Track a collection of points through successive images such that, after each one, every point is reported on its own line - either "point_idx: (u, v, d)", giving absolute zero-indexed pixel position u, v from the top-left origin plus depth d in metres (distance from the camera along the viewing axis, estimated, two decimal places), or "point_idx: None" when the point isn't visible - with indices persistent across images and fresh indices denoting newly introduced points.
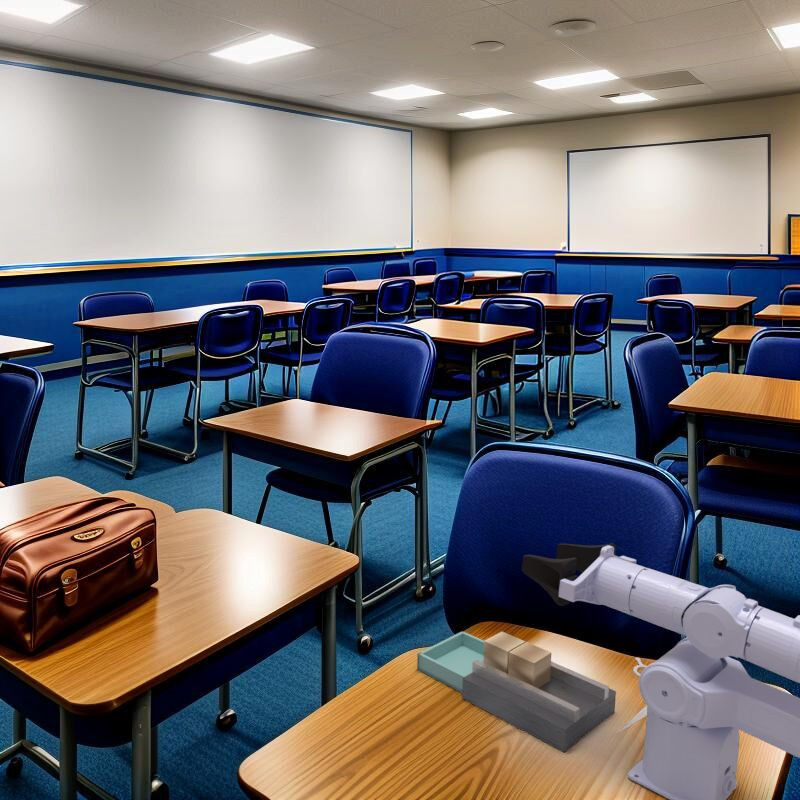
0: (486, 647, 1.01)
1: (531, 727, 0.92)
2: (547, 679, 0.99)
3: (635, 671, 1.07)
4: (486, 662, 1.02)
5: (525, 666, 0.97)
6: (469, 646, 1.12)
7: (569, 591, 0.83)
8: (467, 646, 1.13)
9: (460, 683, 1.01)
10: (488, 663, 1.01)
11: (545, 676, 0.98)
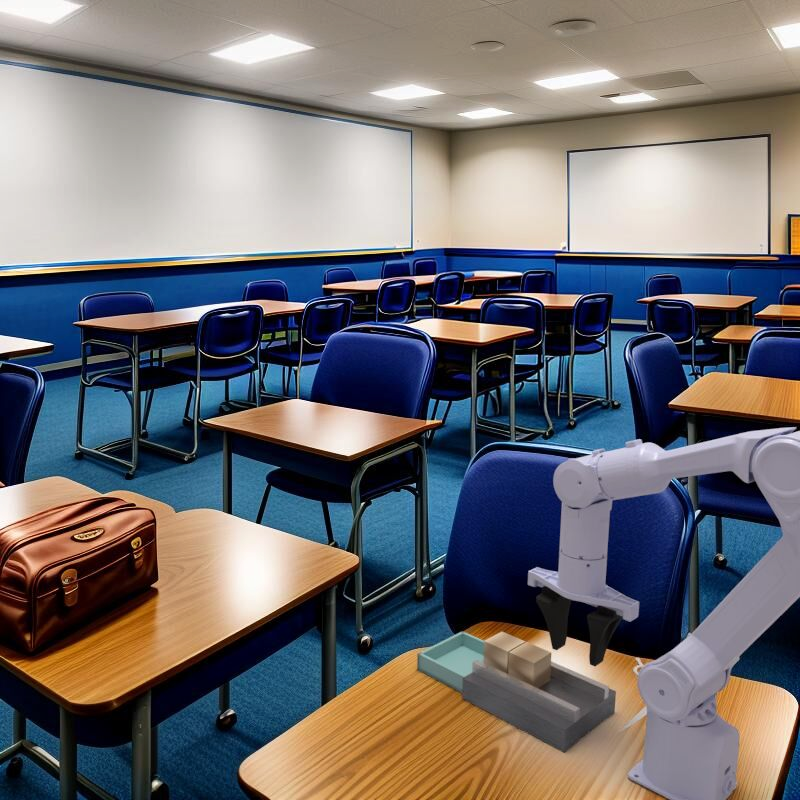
0: (486, 647, 1.01)
1: (531, 727, 0.92)
2: (547, 679, 0.99)
3: (635, 671, 1.07)
4: (486, 662, 1.02)
5: (525, 666, 0.97)
6: (469, 646, 1.12)
7: None
8: (467, 646, 1.13)
9: (460, 683, 1.01)
10: (488, 663, 1.01)
11: (545, 676, 0.98)
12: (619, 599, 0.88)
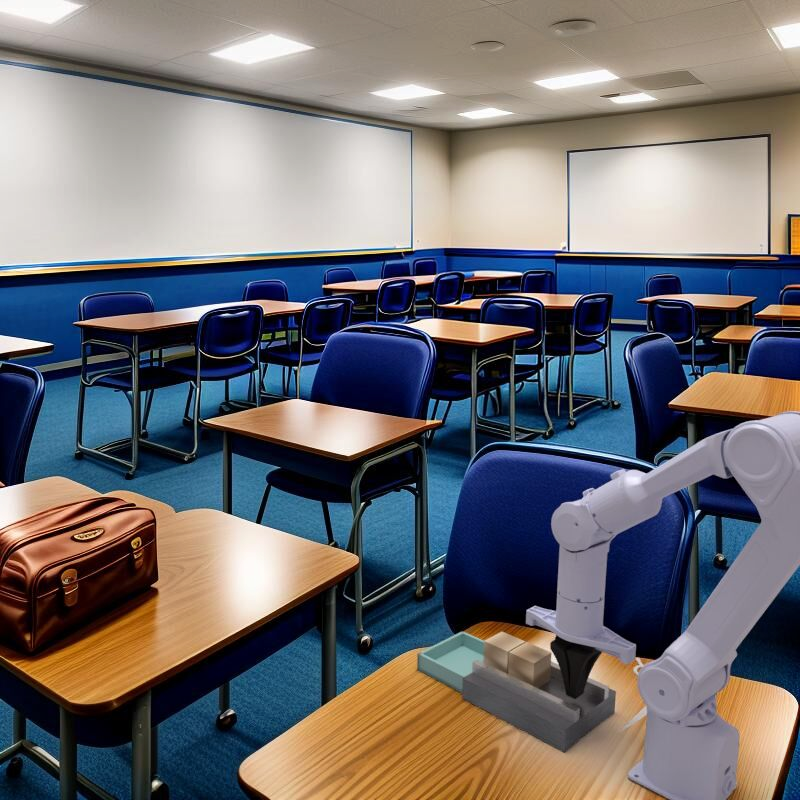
0: (486, 647, 1.01)
1: (531, 727, 0.92)
2: (547, 679, 0.99)
3: (635, 671, 1.07)
4: (486, 662, 1.02)
5: (525, 666, 0.97)
6: (469, 646, 1.12)
7: None
8: (467, 646, 1.13)
9: (460, 683, 1.01)
10: (488, 663, 1.01)
11: (545, 676, 0.98)
12: (616, 641, 0.89)
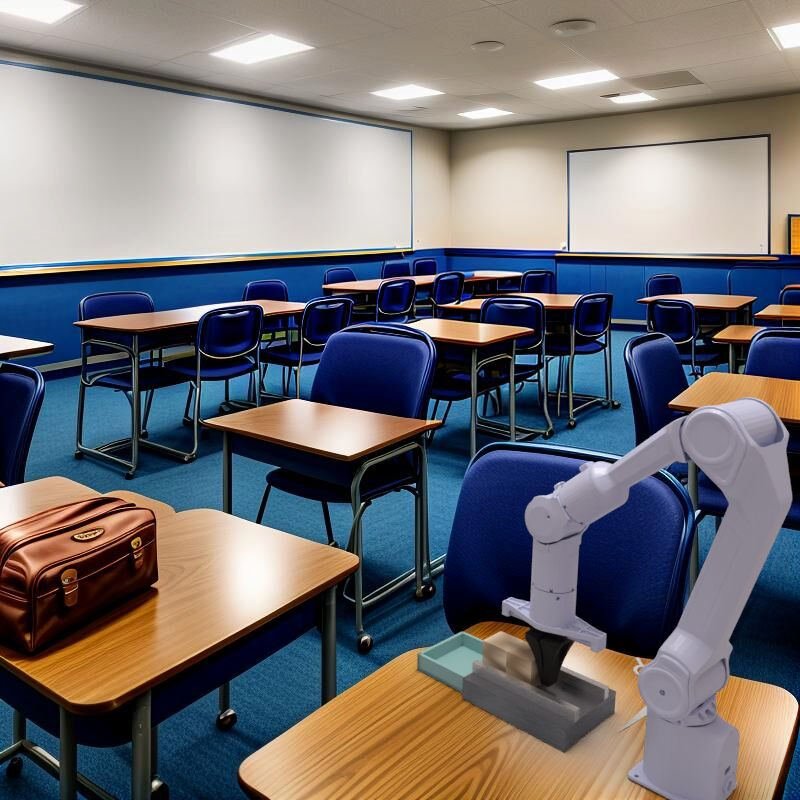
0: (485, 647, 1.01)
1: (531, 727, 0.92)
2: None
3: (635, 671, 1.07)
4: (485, 662, 1.02)
5: (523, 665, 0.97)
6: (469, 646, 1.12)
7: None
8: (467, 646, 1.13)
9: (460, 683, 1.01)
10: (487, 663, 1.01)
11: None
12: (587, 631, 0.92)
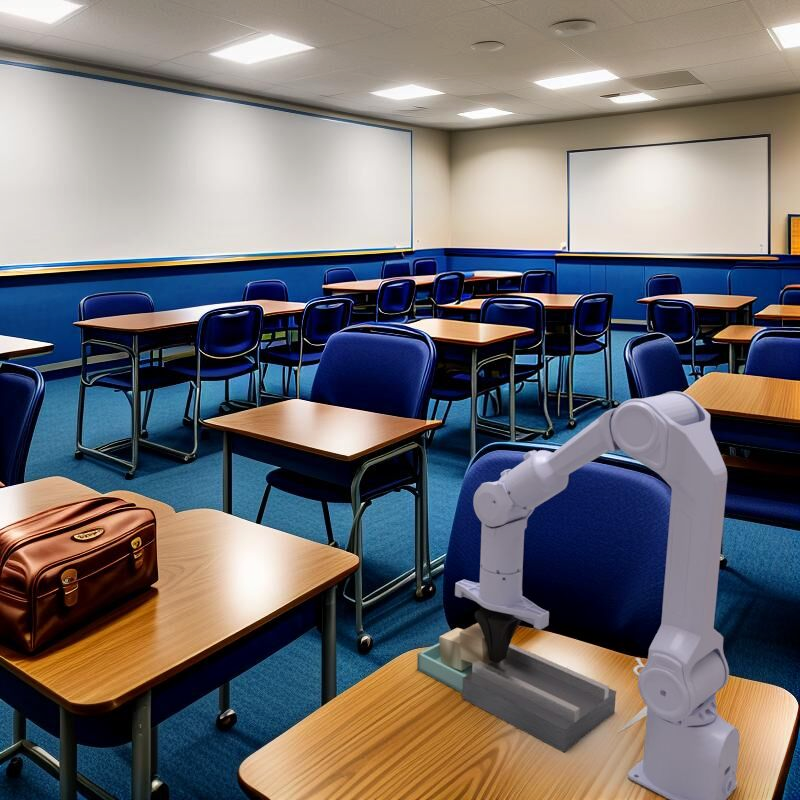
0: (444, 661, 1.08)
1: (531, 727, 0.92)
2: None
3: (635, 671, 1.07)
4: (455, 665, 1.06)
5: (474, 643, 1.03)
6: None
7: None
8: None
9: (460, 683, 1.01)
10: (455, 662, 1.06)
11: None
12: (531, 609, 0.98)
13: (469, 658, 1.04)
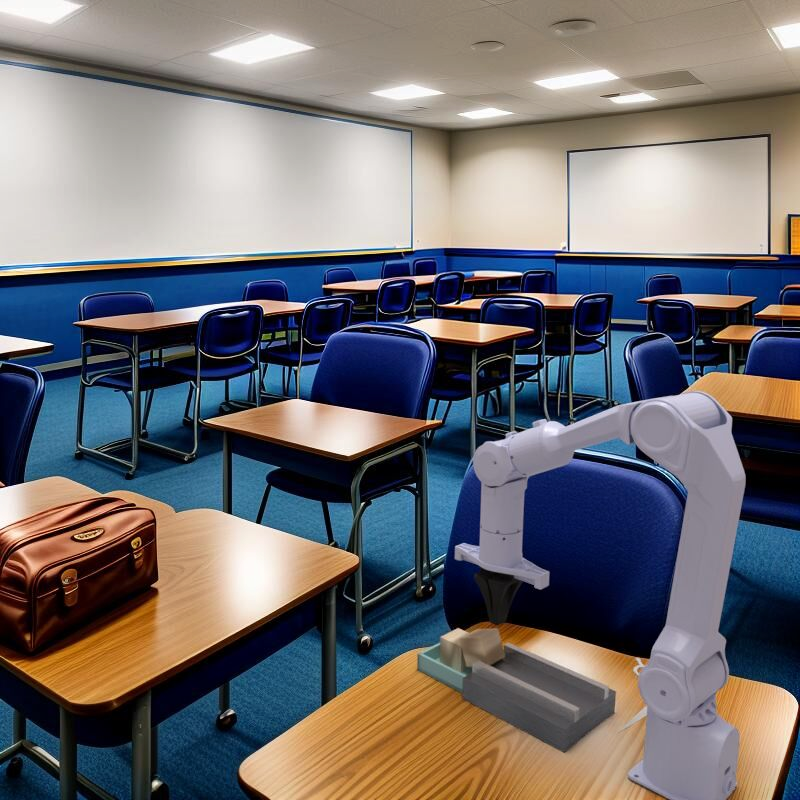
0: (443, 661, 1.08)
1: (531, 727, 0.92)
2: (502, 655, 1.04)
3: (635, 671, 1.07)
4: (455, 666, 1.06)
5: (475, 644, 1.03)
6: None
7: None
8: None
9: (460, 683, 1.01)
10: (455, 664, 1.06)
11: (498, 652, 1.04)
12: (532, 569, 0.97)
13: None
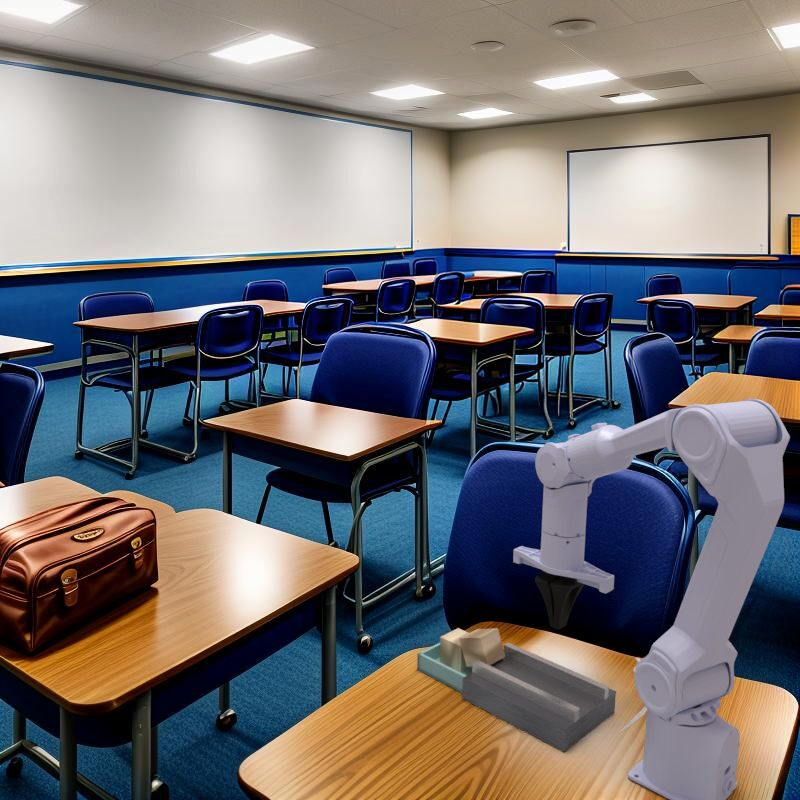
0: (443, 661, 1.08)
1: (531, 727, 0.92)
2: (502, 655, 1.04)
3: None
4: (455, 666, 1.06)
5: (475, 644, 1.03)
6: None
7: None
8: None
9: (460, 683, 1.01)
10: (455, 664, 1.06)
11: (498, 652, 1.04)
12: (596, 573, 0.96)
13: None
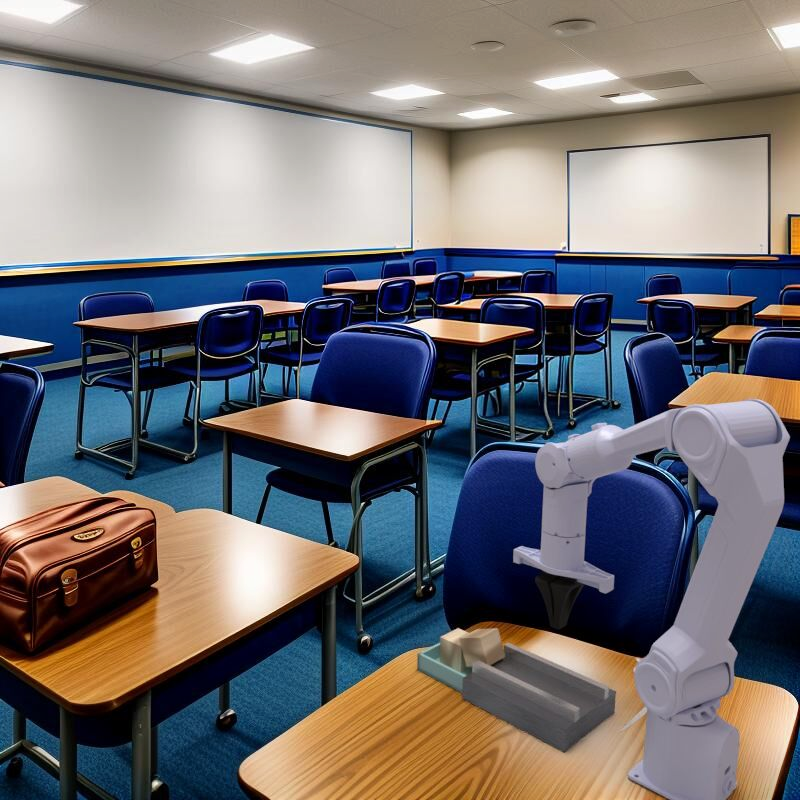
0: (443, 661, 1.08)
1: (531, 727, 0.92)
2: (502, 655, 1.04)
3: None
4: (455, 666, 1.06)
5: (475, 644, 1.03)
6: None
7: None
8: None
9: (460, 683, 1.01)
10: (455, 664, 1.06)
11: (498, 652, 1.04)
12: (596, 573, 0.96)
13: None
